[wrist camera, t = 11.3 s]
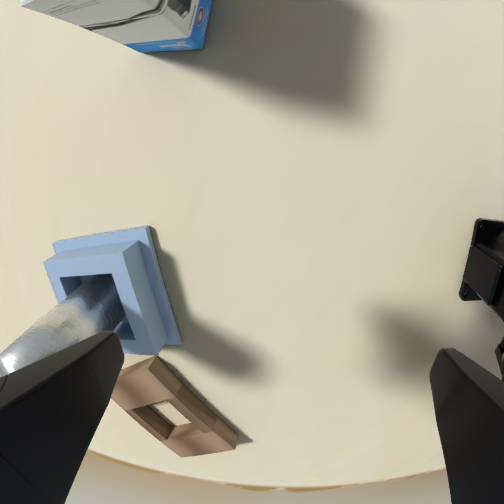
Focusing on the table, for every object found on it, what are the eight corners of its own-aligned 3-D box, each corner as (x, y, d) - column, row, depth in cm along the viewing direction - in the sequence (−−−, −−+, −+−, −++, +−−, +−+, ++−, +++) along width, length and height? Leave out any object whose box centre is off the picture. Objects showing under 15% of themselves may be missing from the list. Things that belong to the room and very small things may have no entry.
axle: (137, 285, 22) (41, 389, 11) (127, 324, 24) (49, 425, 12) (94, 262, 22) (-12, 344, 11) (88, 302, 23) (0, 387, 12)
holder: (156, 355, 25) (147, 369, 23) (238, 435, 28) (235, 449, 26) (108, 375, 28) (100, 387, 26) (185, 445, 31) (181, 457, 29)
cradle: (148, 225, 21) (128, 239, 18) (181, 340, 24) (169, 363, 21) (56, 241, 22) (34, 253, 20) (92, 337, 26) (76, 355, 23)
